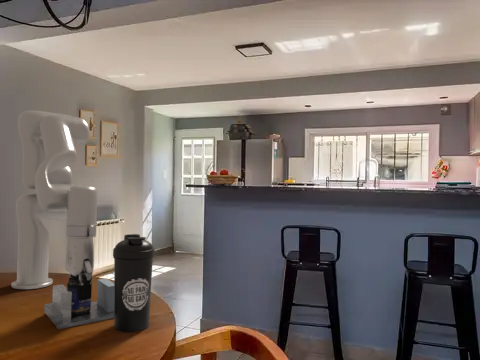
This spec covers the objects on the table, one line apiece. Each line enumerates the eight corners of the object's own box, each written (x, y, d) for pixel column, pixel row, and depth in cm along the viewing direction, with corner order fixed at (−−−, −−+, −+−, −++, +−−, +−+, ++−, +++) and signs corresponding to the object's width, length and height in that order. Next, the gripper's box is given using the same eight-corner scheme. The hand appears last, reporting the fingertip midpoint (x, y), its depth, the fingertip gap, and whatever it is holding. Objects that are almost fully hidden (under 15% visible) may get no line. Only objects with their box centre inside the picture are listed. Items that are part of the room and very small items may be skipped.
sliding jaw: (96, 303, 111) (97, 279, 111) (105, 302, 113) (106, 278, 113) (107, 312, 104) (108, 286, 104) (116, 310, 106) (117, 285, 106)
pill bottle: (81, 316, 101) (82, 274, 101) (61, 314, 102) (62, 272, 102) (95, 309, 107) (96, 269, 107) (75, 307, 108) (76, 267, 108)
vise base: (43, 313, 105) (43, 284, 105) (110, 301, 116) (111, 275, 117) (55, 330, 94) (56, 297, 94) (129, 315, 105) (129, 286, 106)
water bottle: (114, 336, 91) (117, 239, 91) (107, 322, 100) (110, 233, 100) (156, 330, 95) (159, 237, 96) (146, 316, 105) (149, 232, 105)
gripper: (58, 228, 109) (56, 290, 109) (76, 236, 95) (74, 306, 95) (85, 227, 113) (84, 286, 113) (106, 234, 100) (104, 301, 100)
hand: (79, 295), depth 104 cm, fingers open, 8 cm apart
